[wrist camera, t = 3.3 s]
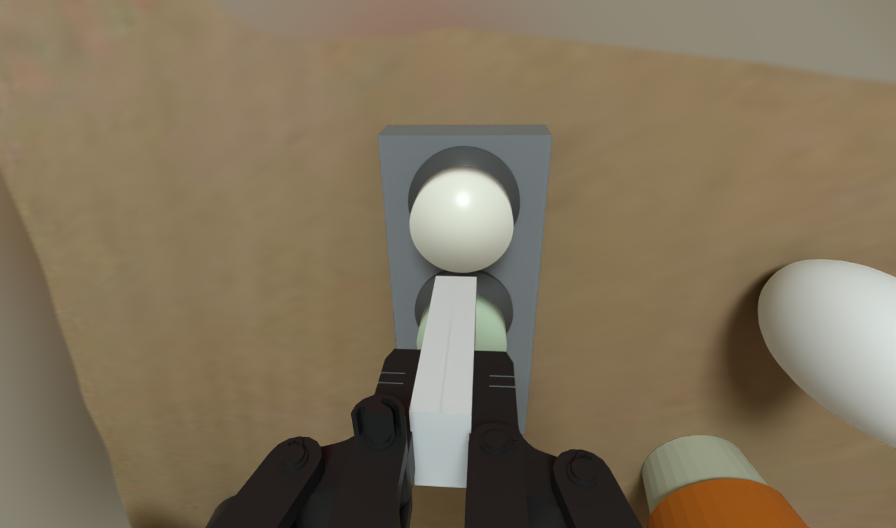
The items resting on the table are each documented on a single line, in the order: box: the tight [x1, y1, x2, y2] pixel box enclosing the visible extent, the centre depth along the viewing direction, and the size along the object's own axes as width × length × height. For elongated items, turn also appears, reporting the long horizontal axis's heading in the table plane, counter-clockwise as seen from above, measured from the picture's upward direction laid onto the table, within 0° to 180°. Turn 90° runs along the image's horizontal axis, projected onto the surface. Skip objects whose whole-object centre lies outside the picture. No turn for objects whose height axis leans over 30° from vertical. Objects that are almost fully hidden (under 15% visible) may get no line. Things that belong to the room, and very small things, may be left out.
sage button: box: [417, 293, 507, 352], centre depth 29 cm, size 6×6×2 cm
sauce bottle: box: [758, 259, 896, 448], centre depth 24 cm, size 8×8×18 cm
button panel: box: [378, 125, 552, 434], centre depth 33 cm, size 10×24×4 cm, turn 1°
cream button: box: [410, 166, 514, 273], centre depth 25 cm, size 6×6×2 cm
